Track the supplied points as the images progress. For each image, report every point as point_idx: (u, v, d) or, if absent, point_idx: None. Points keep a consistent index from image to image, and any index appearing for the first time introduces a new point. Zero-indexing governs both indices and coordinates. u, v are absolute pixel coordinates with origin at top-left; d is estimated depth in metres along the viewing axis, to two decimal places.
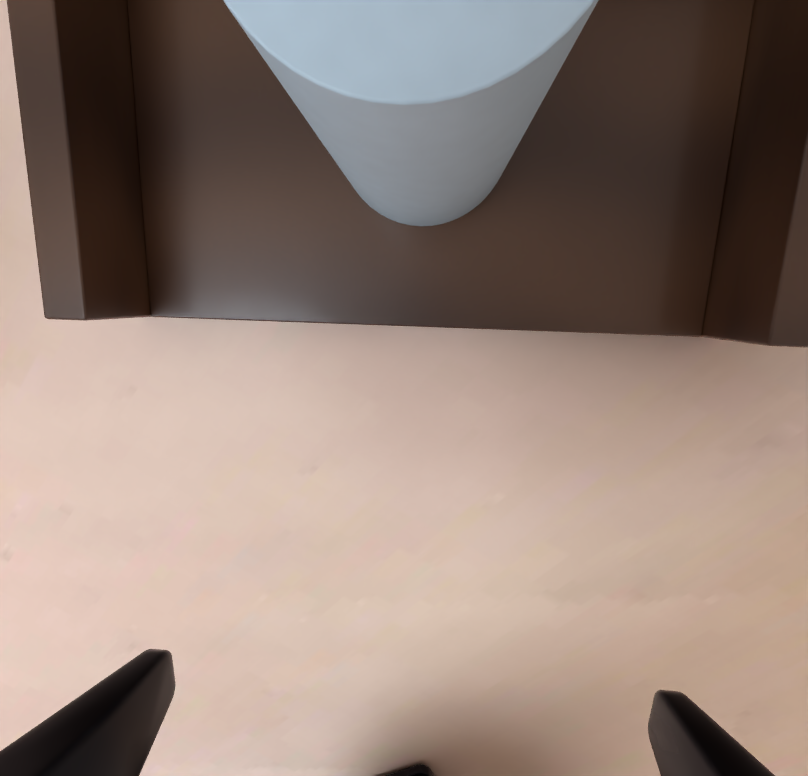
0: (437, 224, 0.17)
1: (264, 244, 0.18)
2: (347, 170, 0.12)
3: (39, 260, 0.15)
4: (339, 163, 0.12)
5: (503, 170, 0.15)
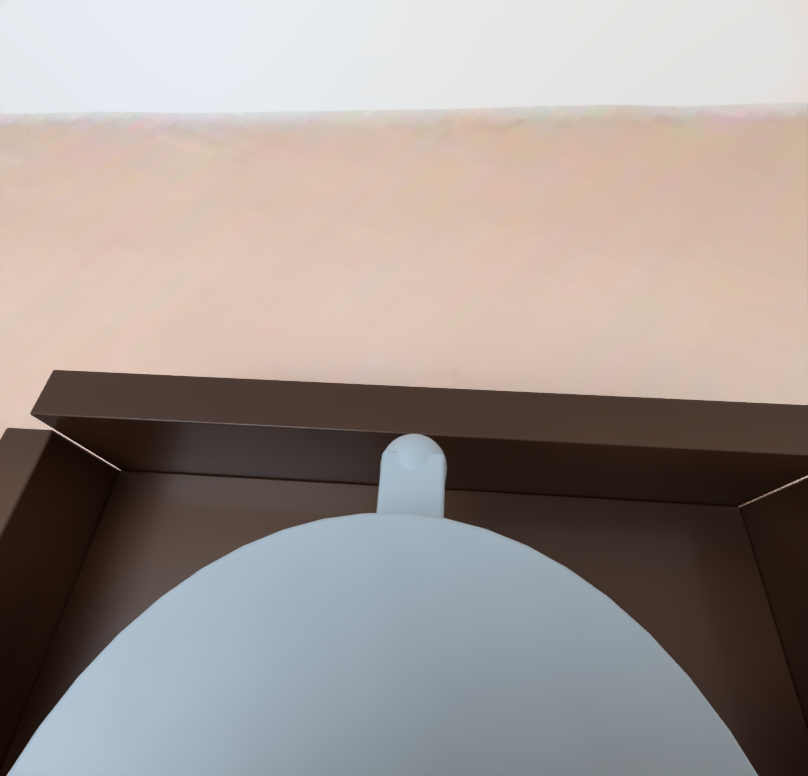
0: None
1: None
2: None
3: None
4: None
5: None
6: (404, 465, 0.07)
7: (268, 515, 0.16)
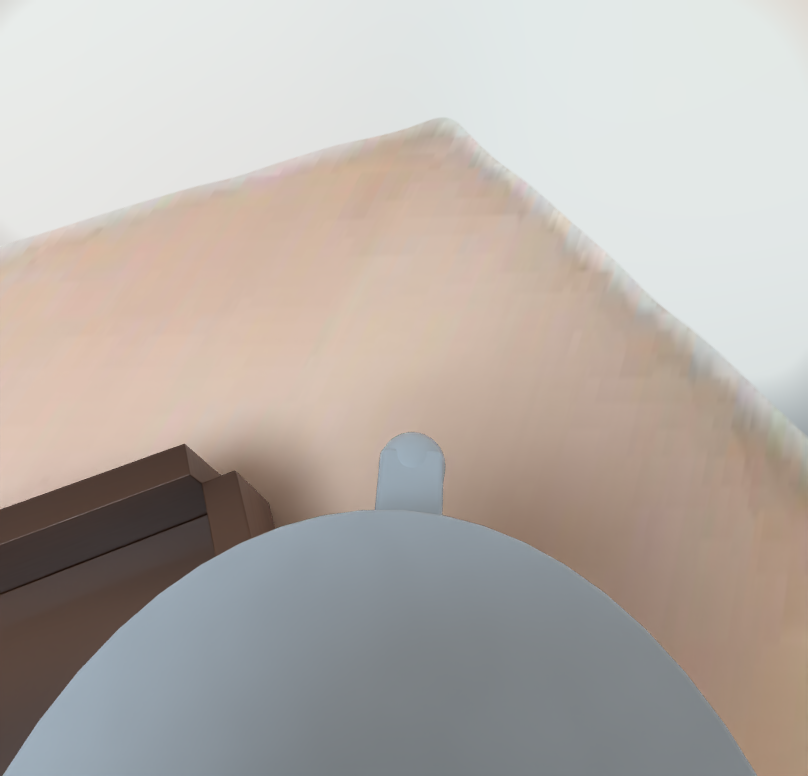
0: None
1: None
2: None
3: None
4: None
5: None
6: (402, 463, 0.07)
7: None
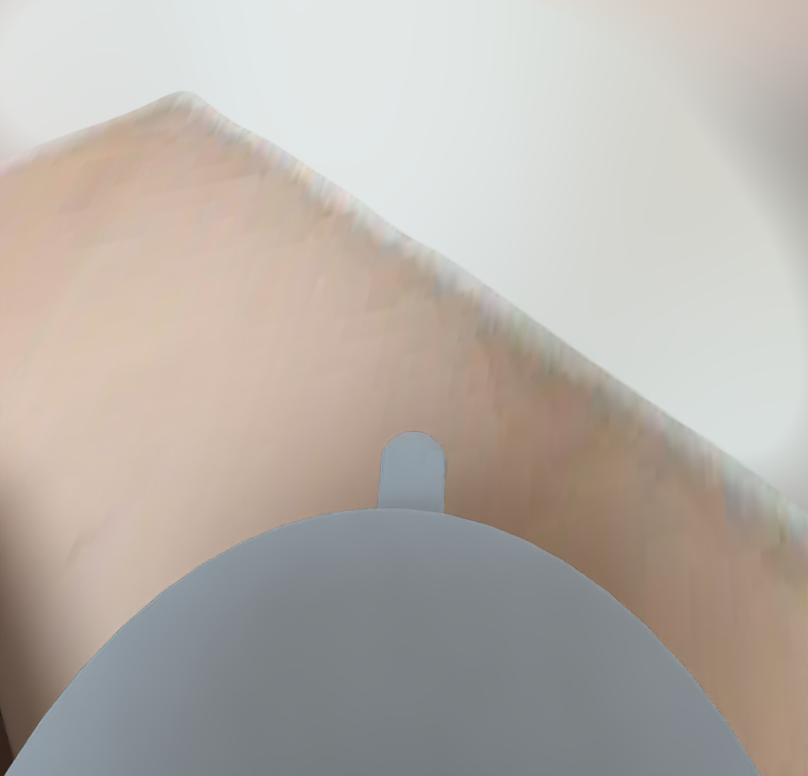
0: None
1: None
2: None
3: None
4: None
5: None
6: (404, 462, 0.07)
7: None
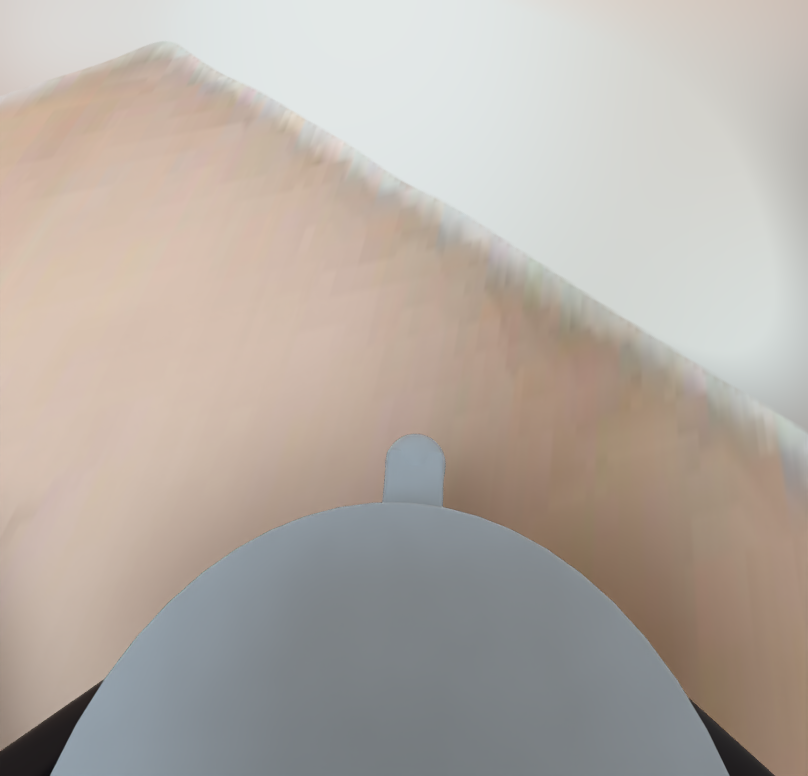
0: None
1: None
2: None
3: None
4: None
5: None
6: (407, 462, 0.08)
7: None
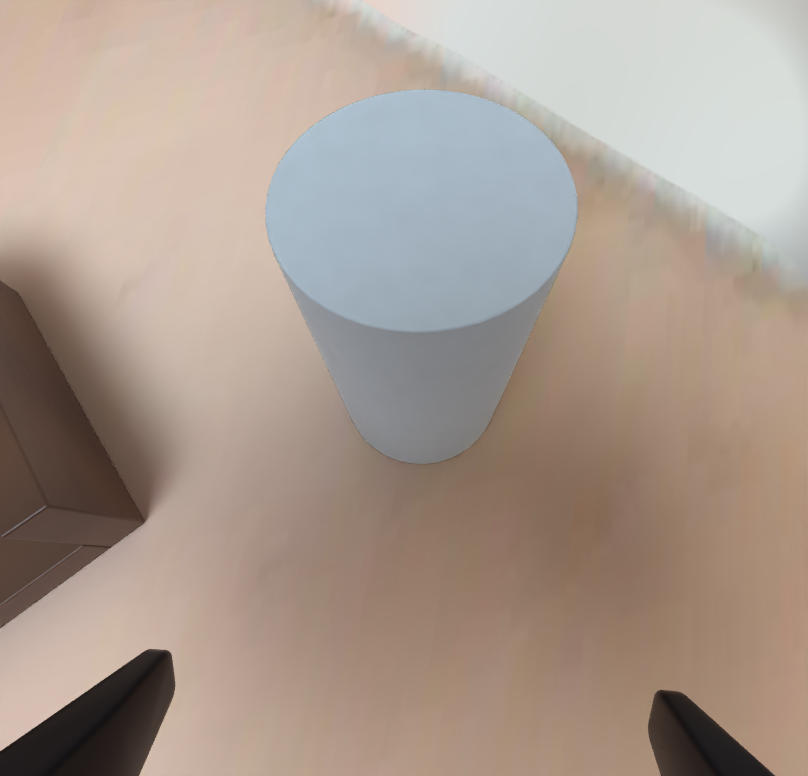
0: (433, 462, 0.18)
1: None
2: (355, 405, 0.14)
3: None
4: (348, 399, 0.14)
5: (491, 415, 0.17)
6: None
7: None
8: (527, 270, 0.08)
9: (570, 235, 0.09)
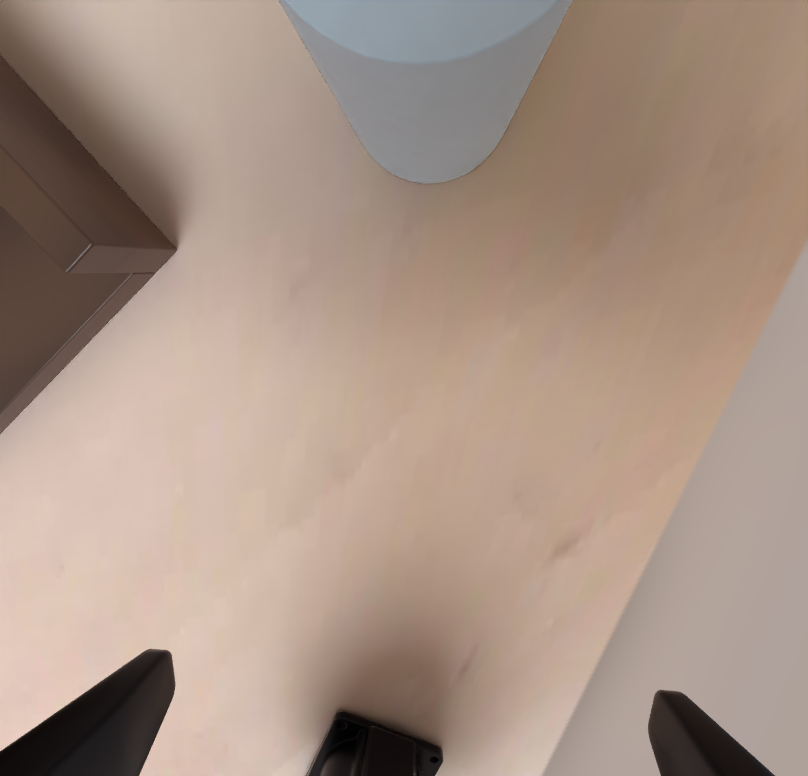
0: (443, 181, 0.18)
1: None
2: (360, 127, 0.13)
3: None
4: (352, 120, 0.13)
5: (506, 128, 0.16)
6: None
7: None
8: None
9: None
